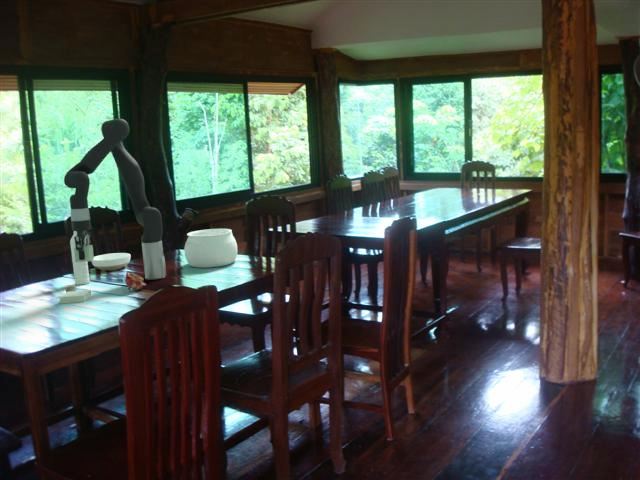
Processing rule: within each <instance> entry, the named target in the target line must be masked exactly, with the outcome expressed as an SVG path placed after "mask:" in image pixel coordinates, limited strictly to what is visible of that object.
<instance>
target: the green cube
mask: <svg viewBox="0 0 640 480" xmlns="http://www.w3.org/2000/svg"><path fill="white" fill-rule="evenodd" d="M93 246H94V245H93V244H91V245H85V246H84V254H85V259H84V260H79V252H78V250H76V247H75V248H74V253H75V262H87V263H88V262H92V261H91V260H93V259H94V257H95V256H94V255H95V254H94V247H93Z"/></svg>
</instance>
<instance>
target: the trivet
mask: <svg viewBox="0 0 640 480" xmlns="http://www.w3.org/2000/svg"><path fill="white" fill-rule="evenodd" d="M92 295H93V294H92V290H91V289H85V290H84V289H83V290H76V291H69V292H66V291H65V293H63V294H62V295H61V296H59V304H67V303H69V304H70V303H71V304H72V303H84V302H86V301H88V299H90V298H91V297H92Z"/></svg>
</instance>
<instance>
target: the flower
mask: <svg viewBox="0 0 640 480" xmlns="http://www.w3.org/2000/svg"><path fill="white" fill-rule="evenodd" d="M124 283H125V285H127V287H128V288H127V289H126V290H127V291H131V289H132V290H134V291H136V292H137V291H139V290H141V289H143V286H147V283H145V282H144V278H143V277H142V276H140V275H138V274H136V273H134V272H133V271H132V272H128V271H127V272H126V273H125V276H124Z"/></svg>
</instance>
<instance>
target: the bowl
mask: <svg viewBox="0 0 640 480" xmlns="http://www.w3.org/2000/svg"><path fill="white" fill-rule="evenodd" d="M131 257H132V256H131V254H130V253H127V252H116V253H115V252H113V253H105V254H100V255H95V256H94V259H93V260H91V261H90V262H91V264H92V266H94V267H95V268H96V269H99V270H100V271H104V270H108V271H114V270H116V269H117V270H121V269H123V268H124V267H125V266H127V265H128V264H129V263H130V261H131Z"/></svg>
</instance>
